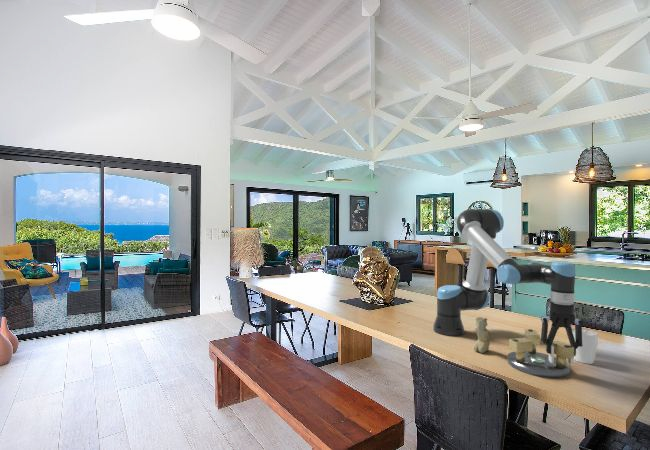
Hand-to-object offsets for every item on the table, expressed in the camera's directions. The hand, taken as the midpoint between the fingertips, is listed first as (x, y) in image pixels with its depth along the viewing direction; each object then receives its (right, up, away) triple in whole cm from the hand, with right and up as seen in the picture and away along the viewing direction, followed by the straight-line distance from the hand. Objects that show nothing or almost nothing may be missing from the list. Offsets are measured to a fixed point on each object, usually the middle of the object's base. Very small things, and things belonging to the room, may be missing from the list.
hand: (560, 362), depth 131 cm
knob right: (0, -1, 0) cm, 1 cm away
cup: (+17, -4, +11) cm, 21 cm away
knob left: (-13, -1, +4) cm, 14 cm away
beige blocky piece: (-3, -1, +13) cm, 14 cm away
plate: (-5, -4, +6) cm, 9 cm away
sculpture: (-21, -4, +21) cm, 30 cm away
